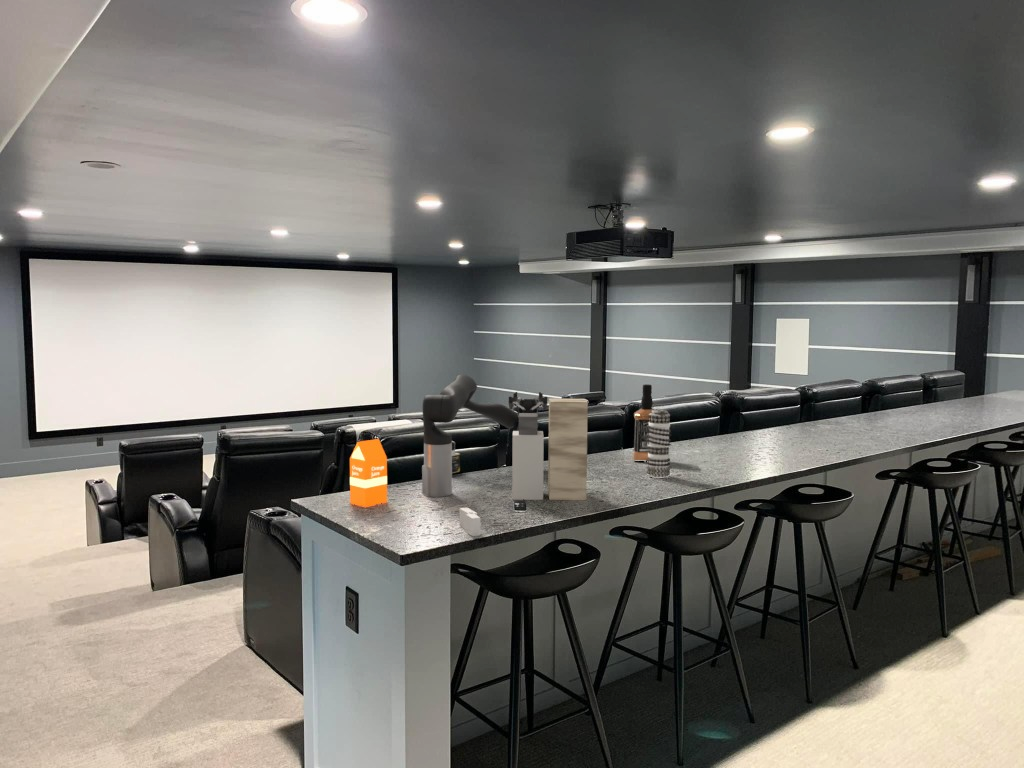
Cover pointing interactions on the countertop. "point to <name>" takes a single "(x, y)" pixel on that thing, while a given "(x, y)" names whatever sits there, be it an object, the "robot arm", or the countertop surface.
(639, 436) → the whiskey bottle
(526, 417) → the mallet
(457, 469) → the medicine bottle
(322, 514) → the countertop surface
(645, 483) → the countertop surface
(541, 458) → the tall white pillar block
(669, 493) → the countertop surface
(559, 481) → the stand
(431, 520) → the countertop surface
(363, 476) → the orange juice
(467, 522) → the napkin holder
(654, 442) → the decorative candle
